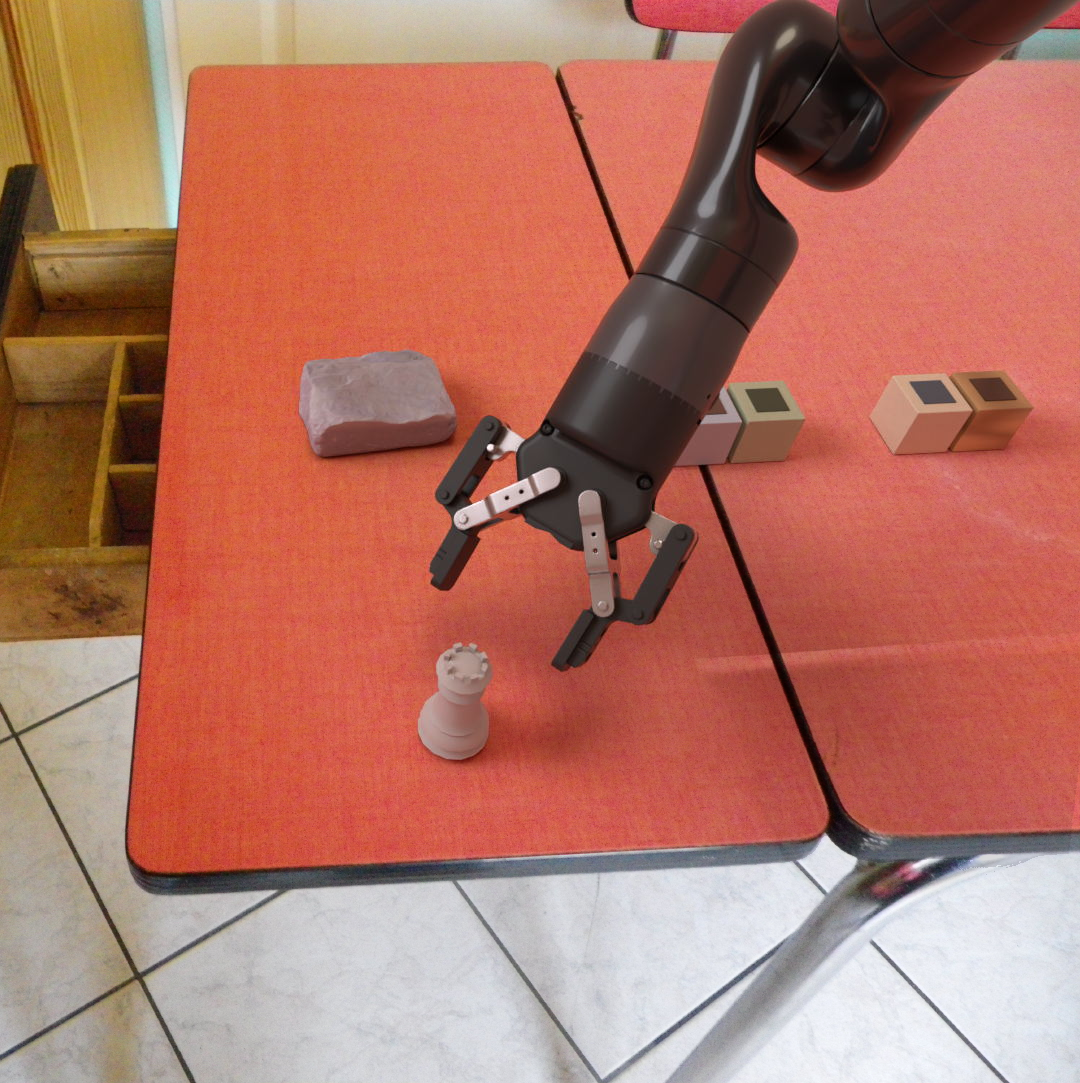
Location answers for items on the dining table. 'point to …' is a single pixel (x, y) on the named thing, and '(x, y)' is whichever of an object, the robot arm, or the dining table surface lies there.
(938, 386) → the block
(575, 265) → the dining table surface
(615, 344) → the robot arm
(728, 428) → the block
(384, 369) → the stone block
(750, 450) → the block
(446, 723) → the rook chess piece
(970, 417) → the block
